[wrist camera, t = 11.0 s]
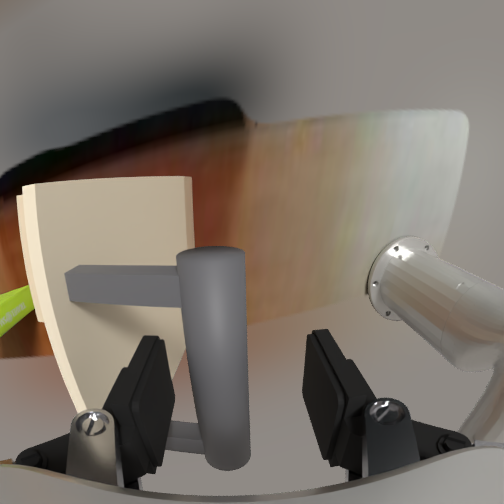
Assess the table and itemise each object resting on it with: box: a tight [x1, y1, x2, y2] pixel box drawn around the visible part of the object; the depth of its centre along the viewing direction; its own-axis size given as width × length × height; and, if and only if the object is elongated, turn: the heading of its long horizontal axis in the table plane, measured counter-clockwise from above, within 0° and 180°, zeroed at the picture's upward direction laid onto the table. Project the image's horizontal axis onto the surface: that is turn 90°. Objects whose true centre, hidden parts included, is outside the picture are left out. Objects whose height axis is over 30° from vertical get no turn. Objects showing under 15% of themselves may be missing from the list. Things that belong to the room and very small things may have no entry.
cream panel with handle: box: [22, 176, 251, 471], centre depth 17 cm, size 18×14×7 cm
